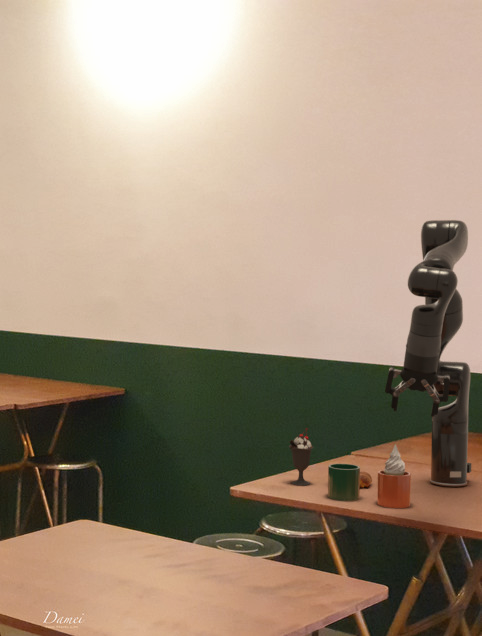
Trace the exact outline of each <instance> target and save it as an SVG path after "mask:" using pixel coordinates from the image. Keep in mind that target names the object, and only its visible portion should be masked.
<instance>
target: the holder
mask: <svg viewBox="0 0 482 636" xmlns="http://www.w3.org/2000/svg"><path fill="white" fill-rule="evenodd" d="M384 470H385V469H381V470H378V471H377V491H376V493H377V494H376V495H377V496H376V497H377V500H376V503H377V505H378V506H380V507H382V508H383V507H384V508H389V509H406V508H410V507H411V483H412V481H411V480H412V473H411V472H409V471H406V470H405V471H404V472H405V473H404V475H403V476H393V475H385V472H384Z"/></svg>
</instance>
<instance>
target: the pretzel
mask: <svg viewBox="0 0 482 636" xmlns="http://www.w3.org/2000/svg"><path fill="white" fill-rule="evenodd" d="M372 482H373V477H372V476H371V474H370V473H369V472H366V471H360V488H367V487H369V486H370V485H371V483H372Z"/></svg>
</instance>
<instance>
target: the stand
mask: <svg viewBox="0 0 482 636" xmlns="http://www.w3.org/2000/svg"><path fill="white" fill-rule="evenodd" d="M327 469H328V470H327V473H328V475H327V497H328V498H329V499H331V500H335V501H340V502H341V501H342V502H353V501H357V500H360V492H361V491H360V472H361V466H359V465H357V464H352V463H330V464H328V468H327Z"/></svg>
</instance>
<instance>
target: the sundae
mask: <svg viewBox="0 0 482 636" xmlns="http://www.w3.org/2000/svg"><path fill="white" fill-rule="evenodd" d="M308 430H309V428H308V427H306V428H305V430H304V431H303V432H302V433H300V434H299V435H298V436H296V437H295V438H294V440H293V439H291V440H290V441H289V444H290V445H288V448H289V450H291V456H292V457H291V458H292V463H293V467H294V468H295V469H296V471H298V477H297V479H296V480H293V481H291V485H295V486H309V485H310V484H311V482H309V481H307V480H305V479H304V472H305V470H307V468H308V467H309V466H310V460H311V454H312V450H313V449H314V448H315V447H314V446H313V445H312V443H311V441H310V440H309V436H308V433H307V431H308ZM304 434H305V436H304Z"/></svg>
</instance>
